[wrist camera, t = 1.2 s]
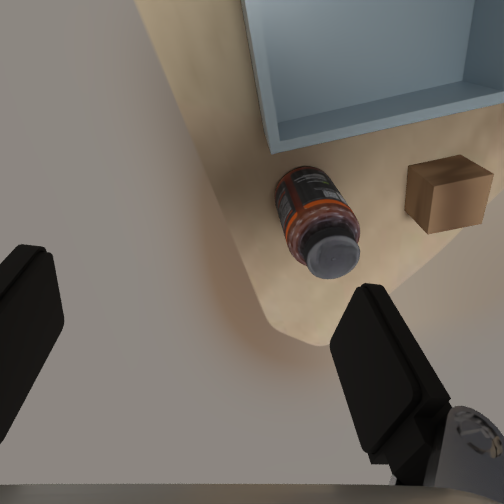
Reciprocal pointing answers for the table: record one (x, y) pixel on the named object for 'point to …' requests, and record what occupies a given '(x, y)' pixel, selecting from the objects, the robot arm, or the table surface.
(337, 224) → the supplement bottle
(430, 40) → the tote
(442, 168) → the walnut cube
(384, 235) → the table surface
